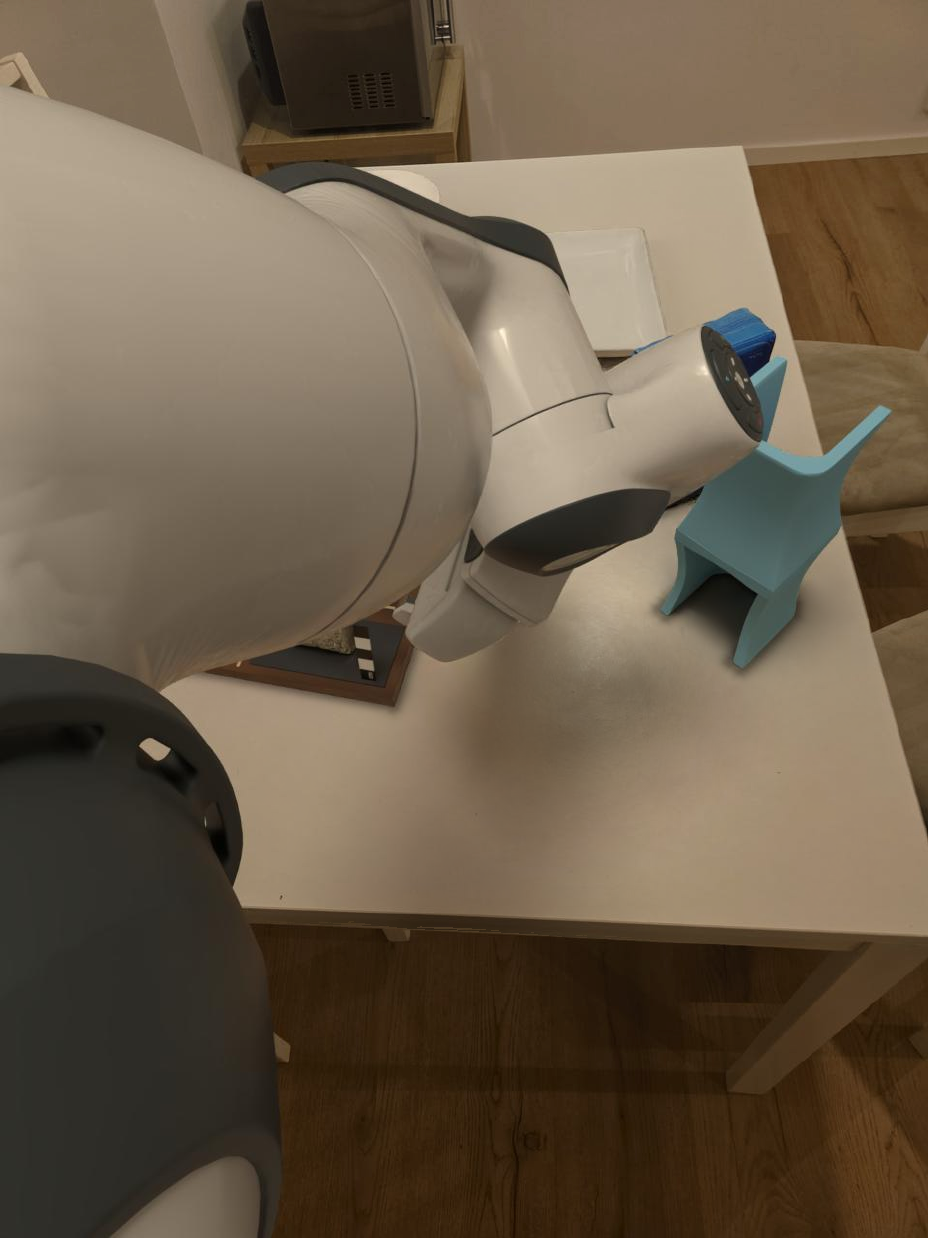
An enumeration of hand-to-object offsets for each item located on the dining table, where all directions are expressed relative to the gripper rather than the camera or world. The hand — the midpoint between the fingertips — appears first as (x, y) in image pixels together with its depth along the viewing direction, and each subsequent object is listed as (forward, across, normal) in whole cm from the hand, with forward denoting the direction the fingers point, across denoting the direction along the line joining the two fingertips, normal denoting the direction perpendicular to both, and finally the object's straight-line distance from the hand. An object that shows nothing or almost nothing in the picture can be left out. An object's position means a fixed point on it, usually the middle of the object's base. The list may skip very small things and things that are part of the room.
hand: (417, 566), depth 65 cm
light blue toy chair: (-7, -12, +31) cm, 34 cm away
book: (-2, -28, +26) cm, 38 cm away
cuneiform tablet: (+19, 0, +3) cm, 19 cm away
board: (+23, -16, 0) cm, 29 cm away
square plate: (+11, -58, +12) cm, 60 cm away
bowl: (+30, -68, -7) cm, 74 cm away
